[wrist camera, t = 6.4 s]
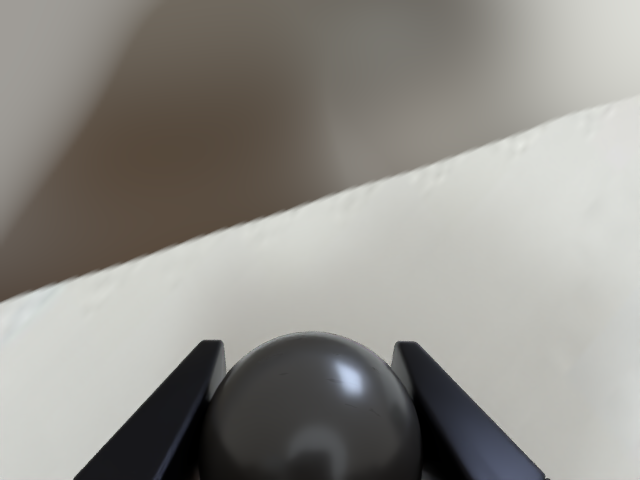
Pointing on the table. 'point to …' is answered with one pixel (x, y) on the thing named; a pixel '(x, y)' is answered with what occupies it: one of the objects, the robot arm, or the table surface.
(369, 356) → the lever
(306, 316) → the table surface
